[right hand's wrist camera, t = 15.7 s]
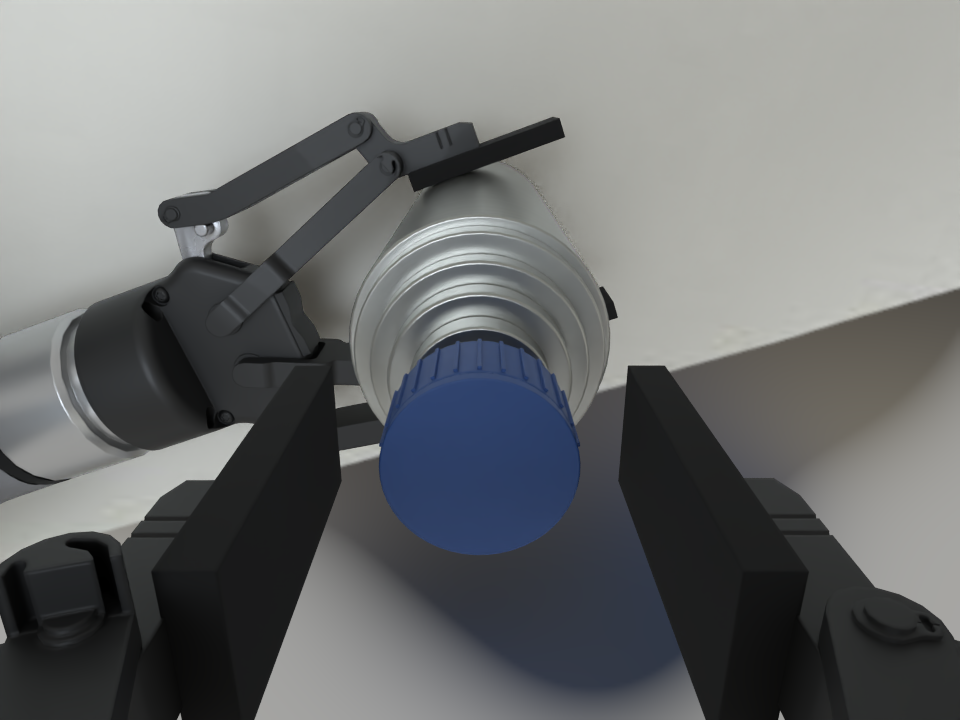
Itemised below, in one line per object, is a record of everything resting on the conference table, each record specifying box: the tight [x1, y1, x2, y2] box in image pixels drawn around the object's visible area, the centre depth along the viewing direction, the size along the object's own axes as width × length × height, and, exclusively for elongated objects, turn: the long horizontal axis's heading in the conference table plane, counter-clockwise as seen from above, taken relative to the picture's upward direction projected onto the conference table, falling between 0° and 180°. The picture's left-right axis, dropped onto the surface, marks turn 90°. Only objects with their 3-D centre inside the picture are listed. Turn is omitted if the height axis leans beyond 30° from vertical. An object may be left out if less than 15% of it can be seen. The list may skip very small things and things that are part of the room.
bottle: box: [349, 161, 610, 426], centre depth 25 cm, size 7×7×25 cm
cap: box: [379, 339, 580, 555], centre depth 14 cm, size 4×4×2 cm
